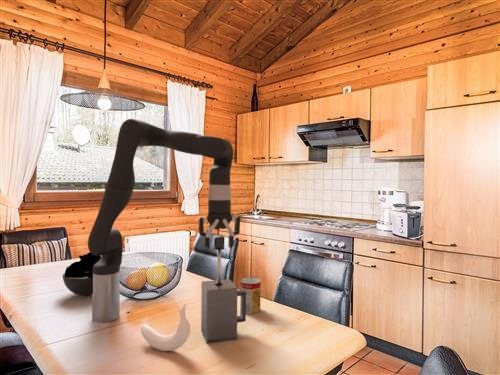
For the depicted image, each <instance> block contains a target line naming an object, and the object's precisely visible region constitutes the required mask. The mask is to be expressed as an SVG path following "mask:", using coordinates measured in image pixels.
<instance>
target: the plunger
mask: <svg viewBox="0 0 500 375" xmlns="http://www.w3.org/2000/svg"><path fill="white" fill-rule="evenodd" d="M213 244H214V245H213V249H214V250H216V251H217V255H216V256H217V257H216V258H217V261H216V264H217V267H216V268H217V269H216V273H217V274H216V275H217V277H216V278H217V279H216V280H217V286H221V280H222V272H221V271H222V250H225V236H224V235H215V236H214V237H213Z"/></svg>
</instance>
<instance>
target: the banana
mask: <svg viewBox="0 0 500 375" xmlns="http://www.w3.org/2000/svg"><path fill="white" fill-rule="evenodd" d="M178 311H179V321H178V324H177V327H176V329H175V331H174V332H173V333H171V334H169V335H168V334H167V335H164V334H161V333H159V332H158V331H157V330H156V329H154V328H153V327H151V326H149V324H146V323H144V324H142V325H141V326H140V333H141V335H142V337H143V339H144V340H145V342H147V344H148V345H149V346H151V347H152V348H154V349H155V350H158V351H162V352H171V351H175V350H178V349H180V348H181V347H182V346H183V345H184V344H185V343H186V342H187V341H188V338H189V336H190V334H191V325H190V322H189V320H188V319H187V317H186V303H184V304H183V306H182V307H180V308H179V310H178Z"/></svg>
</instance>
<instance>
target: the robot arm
mask: <svg viewBox="0 0 500 375" xmlns="http://www.w3.org/2000/svg"><path fill="white" fill-rule="evenodd" d="M138 147H140V148H141V147H163V148H166V149H171V150H174V151H177V152H181V153H183V154H190V155H193V156H196V155H197V156H202V157H207V158H210V159H213V162H212V163H213V165H212V167H211V168H210V169H209V172H208V173H209V174H208V175H209V176H208V191H207V192H208V193H207V194H208V195H207V208H208V209H207V210H208V211H207V216H204V217H203V216H199V217H198V234H199V236H201V237H204V240H203V241H204V247H205V248H206V249H207V250H209V249H210V247H211V246H210V244H211V243H210V242H211V241H210V236H211V235H212V233H213V231H214V230H219V229H220V230H226V231H227V233H228V241H227V242H228V244H227V245H228V248H229V249H230V248H231V249H232V248H233V246H234V245H235V236H237V235H240V231H241V230H240V228H241V218H240V216H238V215H236V216H232V212H231V211H232V189H231V169H232V165H233V164H232V163H233V158H234V148H233V145H232V142H231V141H229V140H228V139H225V138H222V137H219V136H218V137H217V136H210V135H202V134H198V133H193V132H188V131H182V130H173V129H171V130H169V129H166V128H161V127H159V126H156V125H154V124H151V123H148V122H147V121H143V120H139V119H135V118H128V119H126V120H125V121H122V124H121V125H120V128H119V131H118V135H117V140H116V147H115V153H114V156H113V157H114V158H113V162H112V164H111V169H110V172H109V174H108V175H109V176H108V179H107V183H106V185H105V189H104V192H103V197H102V201H101V203H100V206H99V210H98V213H97V216H96V218H95V221H94V224H93V225H92V228H91V231H90V233H89V236H88V239H87V248H88V251H89V252H90V253H91V254H93V255H95V256H102V257H101V259H100V260H99V261H98V262H97V263H96V264H95V265H94V266H93V295H91V322H92V323H93V322H95V323H107V322H112V321H114V320H117V319H119V318H120V316H121V315H120V312H121V310H120V308H121V306H120V304H121V303H120V297H121V295H120V292H121V291H120V288H121V287H120V282H121V281H120V277H121V276H120V273H121V272H120V271H121V270H120V269H121V268H120V267H121V265H122V263H123V246H124V243H123V242H124V241H123V236H122V233H121V231H120V230H119V229H117V228H115V227H114V224H115V222H116V220H117V219H118V217H119V216H120V215H121V214H122V212H124V210H125V208H126V207H127V206H128V205H129V203H130V201H131V198H132V195H133V192H134V190H135V189H134V188H135V185H136V176H135V170H134V162H135V161H134V160H135V156H136V153H137V150H138ZM206 222H207V223H208V226H207V229H206V230H205V229H204V225H205V224H206ZM231 222H233V223H234V230H233V229H232V227H231V226H230V223H231ZM204 230H205V232H204Z"/></svg>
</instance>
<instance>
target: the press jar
mask: <svg viewBox="0 0 500 375" xmlns="http://www.w3.org/2000/svg"><path fill="white" fill-rule="evenodd" d="M200 294H201V295H200V296H201V297H200V298H201V300H200V301H201V305H200V306H201V309H200V310H201V311H200V314H201V315H200V316H201V318H200V321H201V322H200V324H201V325H200V326H201V327H200V328H201V330H200V331H201V333H202V335H203V338H204V341H205V342H206V344H211V343H213V344H214V343H220V342H227V341H234V340H235V341H236V340H238V323H245V322H246V321H247V320H246V319H247V316H246V315H247V314H246V292H245V291H244V290H241V289H238V287H237V286H236V284H235V283H234V282H233V281H232V280H231V279H221V286H217V279H215V280H206V281H205V280H204V281H203V280H202V281H201V293H200ZM238 297H240V306H239V308H240V311H239V312H240V314H239V315H238Z"/></svg>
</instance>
